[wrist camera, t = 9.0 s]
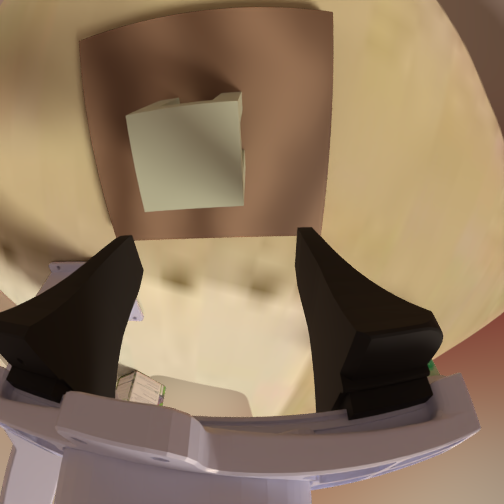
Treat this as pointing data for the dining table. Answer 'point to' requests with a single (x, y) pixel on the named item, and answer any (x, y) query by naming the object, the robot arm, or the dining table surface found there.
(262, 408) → the dining table surface
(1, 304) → the architectural model
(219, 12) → the serving board
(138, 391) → the syrup box
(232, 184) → the pale slotted block
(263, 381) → the dining table surface
